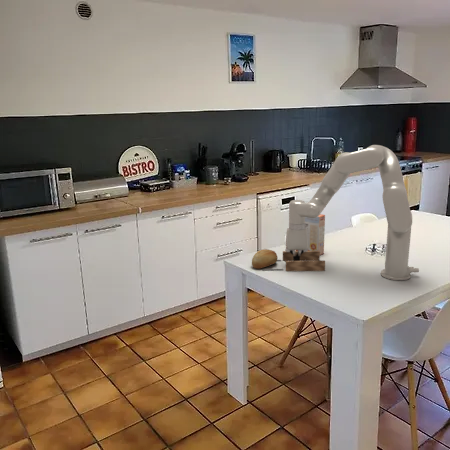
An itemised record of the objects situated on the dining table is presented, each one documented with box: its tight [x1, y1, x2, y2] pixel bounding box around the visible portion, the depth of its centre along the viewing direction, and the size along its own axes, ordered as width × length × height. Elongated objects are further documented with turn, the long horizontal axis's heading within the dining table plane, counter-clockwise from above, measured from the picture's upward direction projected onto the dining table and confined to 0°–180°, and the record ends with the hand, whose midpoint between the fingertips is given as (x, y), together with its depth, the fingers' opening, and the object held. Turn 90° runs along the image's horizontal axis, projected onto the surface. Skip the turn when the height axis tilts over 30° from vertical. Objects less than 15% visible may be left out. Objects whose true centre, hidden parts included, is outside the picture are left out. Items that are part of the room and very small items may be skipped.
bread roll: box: [251, 248, 279, 270], centre depth 216 cm, size 10×15×8 cm, turn 133°
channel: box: [282, 250, 326, 272], centre depth 216 cm, size 18×16×4 cm
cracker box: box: [295, 213, 326, 256], centre depth 232 cm, size 14×6×21 cm, turn 47°
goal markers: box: [261, 259, 285, 272], centre depth 217 cm, size 10×14×1 cm
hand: (296, 263), depth 216 cm, fingers closed
